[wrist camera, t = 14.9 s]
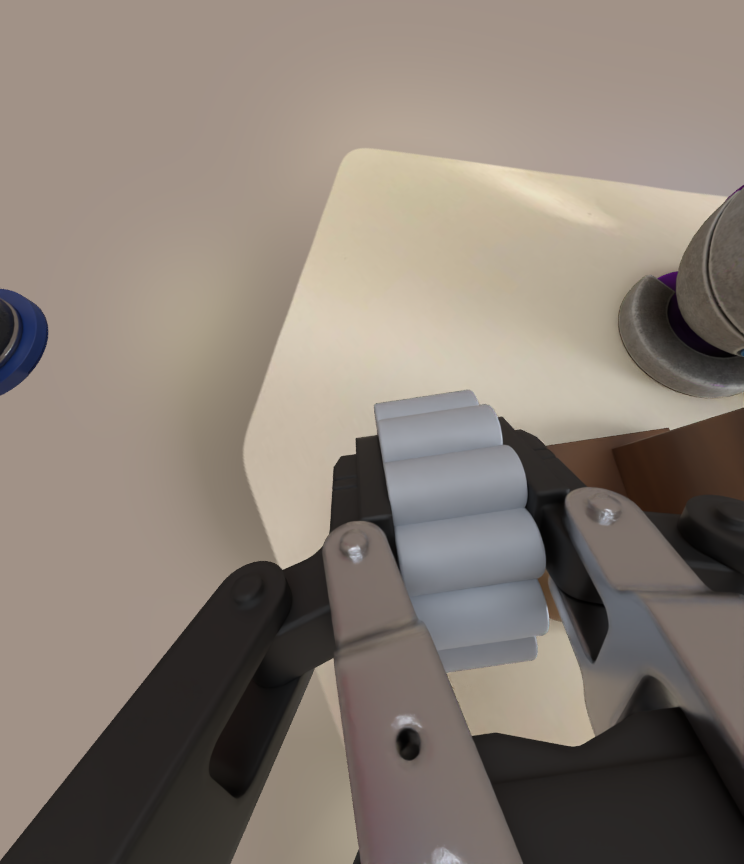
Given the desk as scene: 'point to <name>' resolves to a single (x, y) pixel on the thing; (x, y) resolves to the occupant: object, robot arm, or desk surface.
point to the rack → (660, 467)
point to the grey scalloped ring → (463, 529)
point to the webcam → (694, 312)
